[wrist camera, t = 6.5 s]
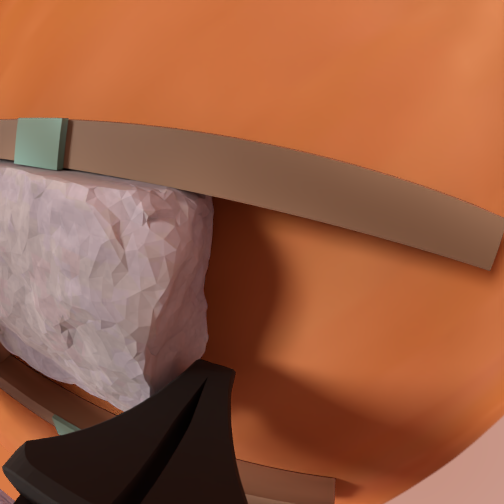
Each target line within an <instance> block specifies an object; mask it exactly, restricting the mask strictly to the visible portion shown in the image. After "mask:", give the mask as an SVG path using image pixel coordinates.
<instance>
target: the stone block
mask: <svg viewBox="0 0 504 504" xmlns="http://www.w3.org/2000/svg"><path fill="white" fill-rule="evenodd" d="M213 215H214V207H213V202H212V196H210V195H205V194H200V193H196V192H191V191H186V190H181V189H176V188H172V187H167V186H162V185H157V184H152V183H146V182H141V181H136V180H131V179H125V178H120V177H114V176H109V175H103V174H98V173H92V172H86V171H80V170H74V169H68V168H63V169H62V170H52V169H45V168H39V167H33V166H27V165H20V164H14V160H8V159H0V342H1V343H2V345H3V346H4V347H5V348H6V349H7V350H8V351H9V352H10V353H12V354H14V355H17V356H19V357H20V358H22V359H23V360H24V361H26V362H27V363H28V364H29V365H30V366H31V367H33V368H34V369H36V370H37V371H39V372H41V373H43V374H44V375H46V376H48V377H50V378H52V379H55V380H57V381H61V382H64V383H68V384H76V385H77V386H79V387H80V388H82V389H83V390H85V391H86V392H88V393H89V394H92V395H94V396H96V397H98V398H100V399H103V400H105V401H108V402H110V403H111V404H112V405H114V406H115V407H117V408H118V409H120V410H122V411H124V412H125V411H127V410H129V409H131V408H133V407H134V406H136V405H138V404H140V403H141V402H143V401H144V400H146V399H147V398H149V397H150V396H152V395H154V394H155V393H157V392H158V391H159V390H161V389H162V388H163V387H165V386H166V385H167V384H169V383H170V382H171V381H173V380H174V379H175V378H176V377H178V376H179V375H180V374H181V373H182V372H184V371H185V370H186V369H187V368H188V367H189V366H190V365H191V364H192V363H193V362H195V361H196V360H198V359H200V358H201V356H202V355H203V354H204V352H205V349H206V344H207V341H208V333H207V320H206V310H207V308H208V305H207V302H206V299H205V295H204V291H203V289H204V283H205V274H206V272H207V269H208V266H209V265H208V261H209V258H210V253H211V244H212V233H213Z"/></svg>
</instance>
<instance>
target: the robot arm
mask: <svg viewBox="0 0 504 504" xmlns="http://www.w3.org/2000/svg"><path fill="white" fill-rule="evenodd" d="M235 373H236V372H235V371H234V370H233V369H231V368H227V367H224V366H221V365H217V364H214V363H211V362H208V361H204V360H201V359H198V360H196V361H195V362H193V363H192V364H191V365H190V366H189V367H188V368H187V369H186V370H185V371H184V372H182V373H181V374H180V375H179V376H178V377H176V378H175V379H174V380H173V381H171V382H170V383H169V384H167V385H166V386H165V387H163V388H162V389H161V390H159V391H158V392H157V393H155V394H154V395H152V396H150V397H149V398H147V399H146V400H144V401H143V402H141V403H140V404H138V405H136V406H134V407H133V408H131V409H129V410H127V411H125V412H123V413H121V414H119V415H117V416H115V417H113V418H111V419H108V420H106V421H104V422H101V423H99V424H96V425H94V426H91V427H88V428H85V429H81V430H78V431H75V432H71V433H68V434H64V435H60V436H55V437H49V438H43V439H37V440H30V441H26V442H25V443H24V444H23V445H22V446H20V447H19V448H18V449H17V450H16V451H15V453H14V454H13V455H12V456H11V457H10V458H9V460H8V461H7V462H6V463H5V464H4V465H3V467H2V468H3V472H4V474H5V476H6V477H7V478H8V479H9V481H10V482H11V483H12V485H13V486H14V487H15V488H16V489H17V491H18V492H19V493H20V496H19V497H18V498H17V500H16V501H14V500H13V499H12V498H10V497H9V496H8V495H7V494H6V493H4V492H3V491H2V490H1V489H0V504H248V502H247V499H246V495H245V492H244V489H243V486H242V482H241V479H240V475H239V471H238V467H237V462H236V457H235V452H234V446H233V438H232V428H231V391H232V386H233V382H234V378H235Z"/></svg>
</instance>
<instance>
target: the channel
mask: <svg viewBox="0 0 504 504" xmlns="http://www.w3.org/2000/svg"><path fill="white" fill-rule="evenodd" d="M0 159H8V160H14V164H20V165H27V166H33V167H39V168H45V169H52V170H62V169H63V168H68V169H74V170H80V171H86V172H92V173H98V174H103V175H109V176H114V177H120V178H125V179H131V180H136V181H141V182H146V183H152V184H157V185H162V186H167V187H172V188H176V189H181V190H186V191H191V192H196V193H200V194H205V195H210V196H214V197H219V198H223V199H228V200H232V201H237V202H241V203H245V204H250V205H254V206H258V207H263V208H267V209H271V210H275V211H279V212H283V213H288V214H292V215H296V216H300V217H304V218H308V219H312V220H316V221H320V222H323V223H327V224H331V225H335V226H339V227H343V228H346V229H350V230H354V231H357V232H361V233H365V234H369V235H372V236H376V237H379V238H383V239H386V240H390V241H394V242H397V243H401V244H404V245H407V246H411V247H414V248H418V249H421V250H424V251H428V252H431V253H434V254H438V255H441V256H444V257H448V258H451V259H454V260H457V261H460V262H464V263H467V264H470V265H473V266H476V267H479V268H482V269H485V270H488V271H490V270H491V268H492V265H493V262H494V259H495V257H496V254H497V251H498V248H499V245H500V242H501V239H502V236H503V233H504V218H503V217H501V216H499V215H497V214H494V213H492V212H490V211H488V210H485V209H483V208H481V207H478V206H476V205H473V204H471V203H468V202H466V201H463V200H461V199H458V198H455V197H453V196H450V195H447V194H445V193H442V192H439V191H436V190H434V189H431V188H428V187H425V186H422V185H419V184H416V183H413V182H410V181H407V180H404V179H401V178H398V177H395V176H391V175H388V174H385V173H382V172H378V171H375V170H371V169H368V168H365V167H361V166H358V165H354V164H350V163H347V162H343V161H339V160H335V159H331V158H328V157H324V156H320V155H316V154H311V153H307V152H303V151H299V150H294V149H290V148H285V147H281V146H276V145H271V144H266V143H261V142H256V141H251V140H246V139H240V138H235V137H229V136H223V135H217V134H211V133H205V132H198V131H191V130H184V129H177V128H169V127H160V126H152V125H142V124H132V123H120V122H107V121H92V120H71V119H69V118H18V119H0ZM0 388H1V389H2V390H4V391H5V392H6V393H8V394H9V395H10V396H11V397H13V398H14V399H15V400H17V401H18V402H20V403H21V404H22V405H24V406H25V407H26V408H28V409H29V410H31V411H32V412H34V413H35V414H37V415H38V416H39V417H41V418H42V419H44V420H46V421H47V422H49V423H50V424H52V425H53V426H55V427H56V430H57V432H58V434H59V435H64V434H68V433H71V432H75V431H78V430H81V429H85V428H88V427H91V426H94V425H96V424H99V423H101V422H104V421H106V420H108V419H111V418H113V417H115V416H116V415H114V414H112V413H110V412H108V411H106V410H104V409H102V408H100V407H98V406H96V405H94V404H92V403H90V402H88V401H86V400H84V399H82V398H80V397H78V396H76V395H75V394H73V393H71V392H69V391H67V390H66V389H64V388H62V387H60V386H59V385H57V384H55V383H54V382H52V381H50V380H49V379H47V378H45V377H44V376H42V375H41V374H39V373H37V372H36V371H34V370H33V369H31V368H30V367H28V366H27V365H25V364H24V363H22V362H21V361H19V360H18V359H16V358H15V357H13V356H12V355H11V354H10V352H9V351H8V350H7V349H6V348H5V347H4V346H3V345H2V343H1V342H0ZM236 462H237V467H238V471H239V475H240V479H241V482H242V486H243V489H244V492H245V495H246V499H247V502H248V504H334V501H335V478H327V477H320V476H313V475H307V474H301V473H295V472H290V471H285V470H280V469H275V468H270V467H266V466H261V465H257V464H253V463H249V462H245V461H241V460H237V459H236Z"/></svg>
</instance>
